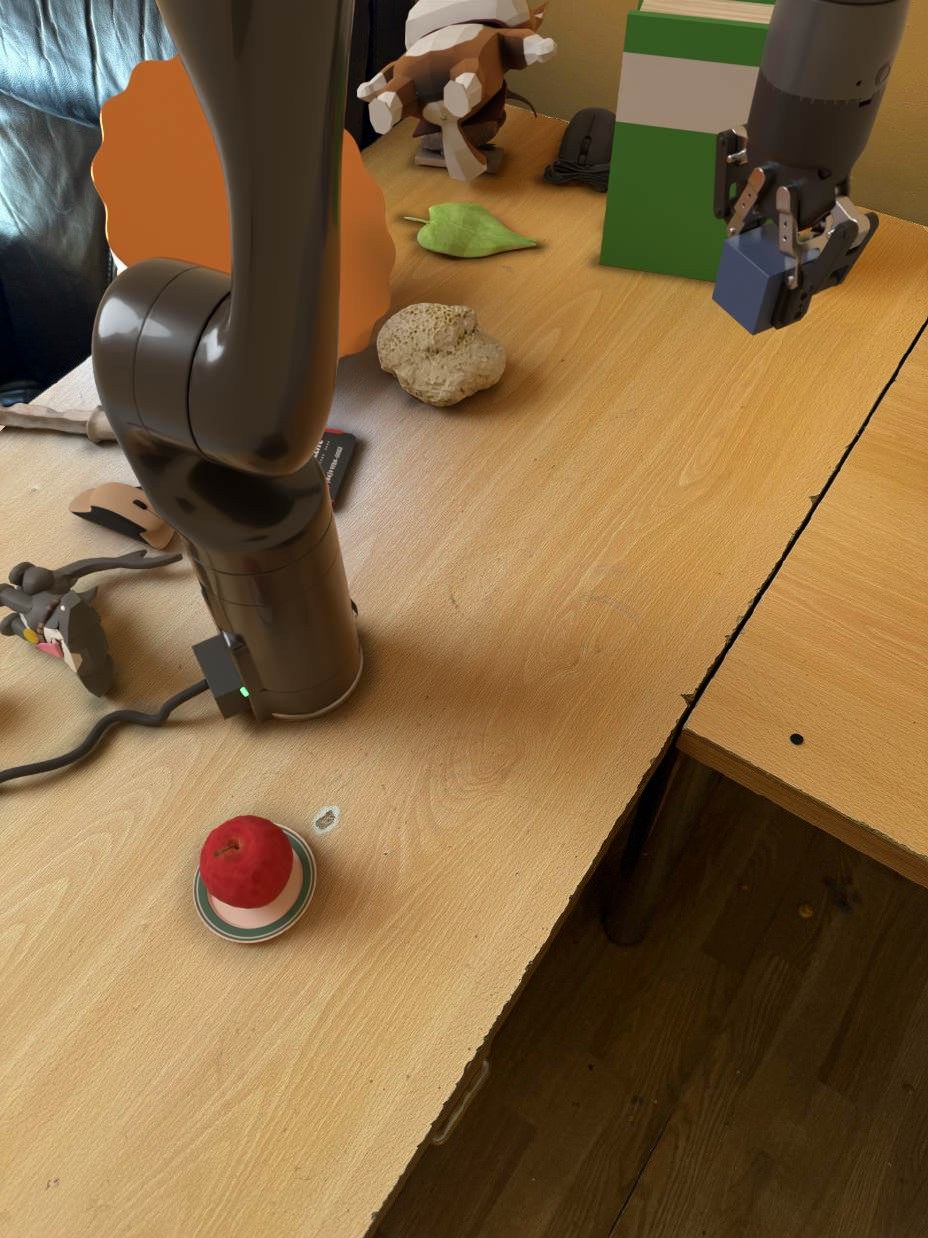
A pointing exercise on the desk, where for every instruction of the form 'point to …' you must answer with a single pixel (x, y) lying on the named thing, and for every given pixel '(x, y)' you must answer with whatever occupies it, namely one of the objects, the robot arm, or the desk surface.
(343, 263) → the orange scalloped disc
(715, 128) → the hardback book
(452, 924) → the desk surface
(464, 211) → the leaf
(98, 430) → the carved wooden stick
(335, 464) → the black flat block
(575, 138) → the computer mouse
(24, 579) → the toy monster
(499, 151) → the figurine
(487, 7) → the toy
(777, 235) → the cube
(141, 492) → the computer mouse
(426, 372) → the decorative item
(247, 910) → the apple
